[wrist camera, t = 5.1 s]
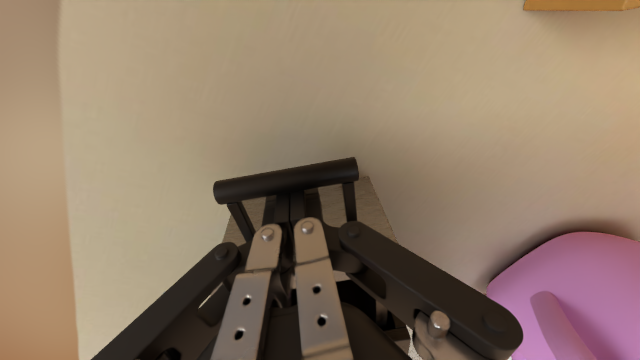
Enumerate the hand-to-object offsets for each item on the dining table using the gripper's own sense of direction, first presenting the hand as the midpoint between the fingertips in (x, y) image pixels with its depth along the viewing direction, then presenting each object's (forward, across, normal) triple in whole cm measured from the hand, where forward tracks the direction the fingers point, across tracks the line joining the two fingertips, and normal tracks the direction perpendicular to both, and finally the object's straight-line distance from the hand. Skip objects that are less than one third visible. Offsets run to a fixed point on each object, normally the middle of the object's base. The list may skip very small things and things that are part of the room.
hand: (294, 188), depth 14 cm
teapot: (+4, -28, +23) cm, 36 cm away
